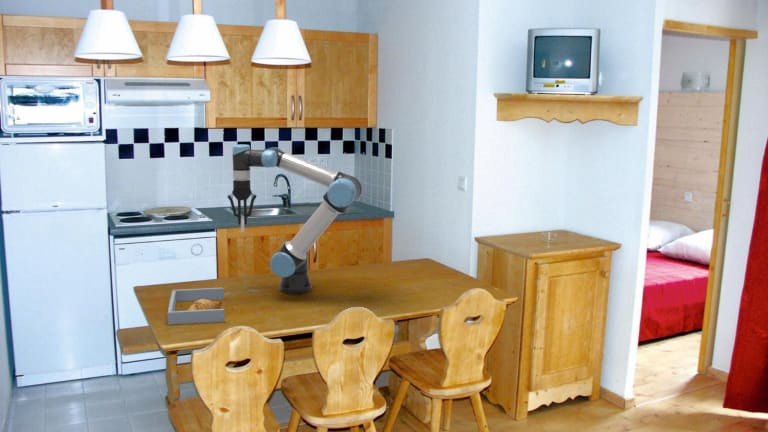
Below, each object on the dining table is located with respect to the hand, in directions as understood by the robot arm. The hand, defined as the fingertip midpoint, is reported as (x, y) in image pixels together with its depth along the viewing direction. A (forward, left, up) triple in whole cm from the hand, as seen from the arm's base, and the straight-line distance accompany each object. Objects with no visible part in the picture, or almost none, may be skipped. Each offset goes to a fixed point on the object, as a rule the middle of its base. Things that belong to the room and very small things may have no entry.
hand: (242, 231), depth 316 cm
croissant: (+18, +26, -30) cm, 44 cm away
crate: (+20, +21, -29) cm, 41 cm away
